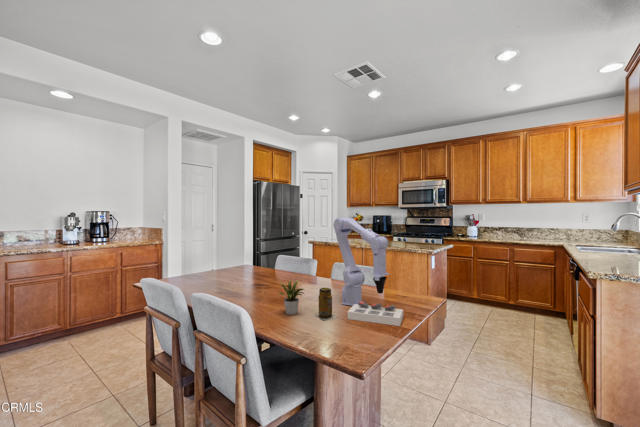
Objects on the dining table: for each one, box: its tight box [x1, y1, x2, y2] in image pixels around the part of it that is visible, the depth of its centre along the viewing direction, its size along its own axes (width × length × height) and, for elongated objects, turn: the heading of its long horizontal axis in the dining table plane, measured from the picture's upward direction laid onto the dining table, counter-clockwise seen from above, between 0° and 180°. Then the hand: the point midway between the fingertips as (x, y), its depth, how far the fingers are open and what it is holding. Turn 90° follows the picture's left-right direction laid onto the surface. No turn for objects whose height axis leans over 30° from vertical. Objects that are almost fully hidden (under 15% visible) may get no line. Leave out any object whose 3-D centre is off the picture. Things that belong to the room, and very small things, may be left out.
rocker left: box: [358, 301, 370, 308], centre depth 130 cm, size 4×3×2 cm
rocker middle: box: [370, 303, 383, 309], centre depth 127 cm, size 4×3×2 cm
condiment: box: [314, 287, 339, 321], centre depth 128 cm, size 7×8×12 cm
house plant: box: [277, 277, 305, 316], centre depth 132 cm, size 14×14×16 cm
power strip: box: [347, 304, 404, 327], centre depth 127 cm, size 22×15×4 cm
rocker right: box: [385, 304, 396, 311], centre depth 125 cm, size 4×3×2 cm
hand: (380, 293), depth 131 cm, fingers closed
